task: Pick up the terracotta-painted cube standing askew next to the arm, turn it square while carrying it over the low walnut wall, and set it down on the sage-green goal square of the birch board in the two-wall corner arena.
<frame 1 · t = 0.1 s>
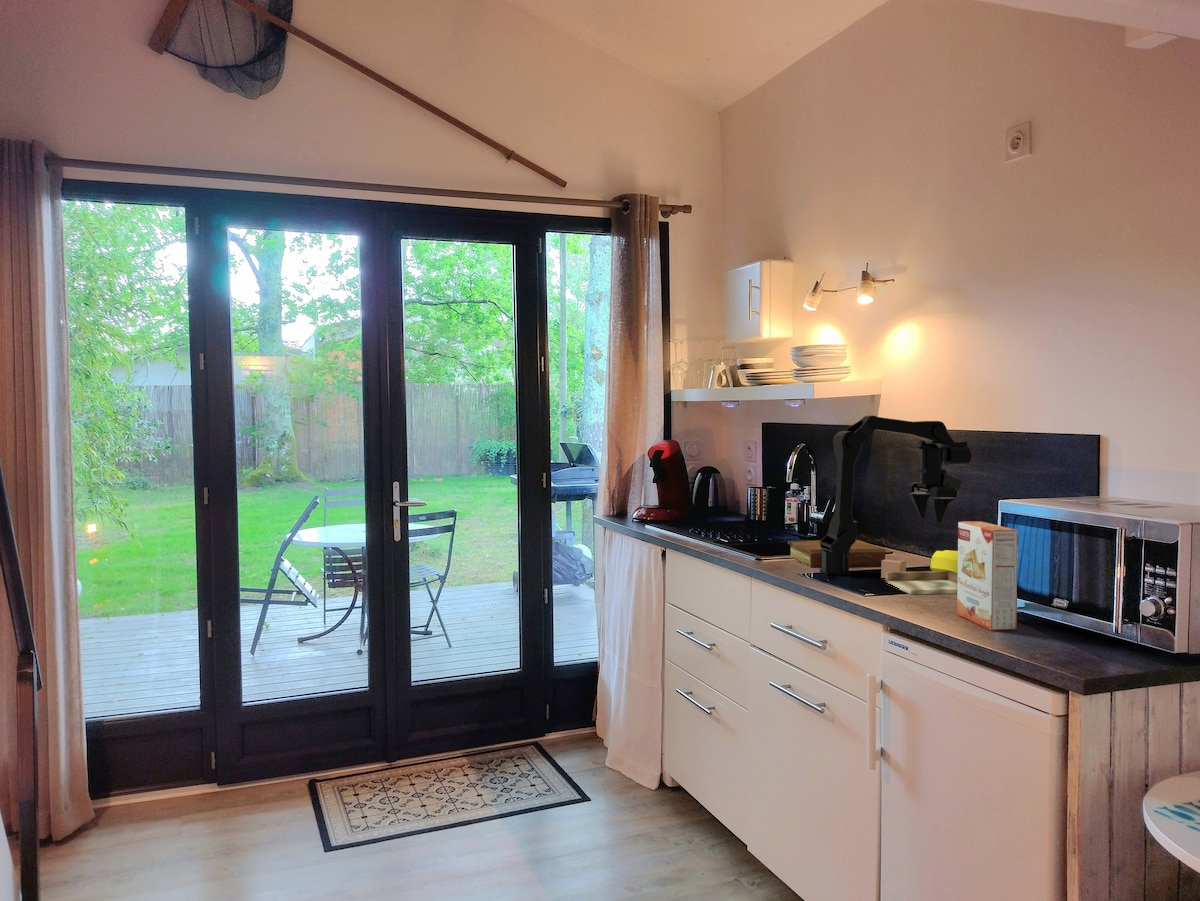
hand: (930, 520, 240), 15 cm above the countertop, tool pointing down, fingers open, 9 cm apart
faceted yellow capsule: (957, 576, 235), on the countertop
diary: (834, 563, 257), on the countertop
cracker box: (985, 623, 180), on the countertop
arena: (931, 587, 217), on the countertop
cube: (893, 578, 230), on the countertop
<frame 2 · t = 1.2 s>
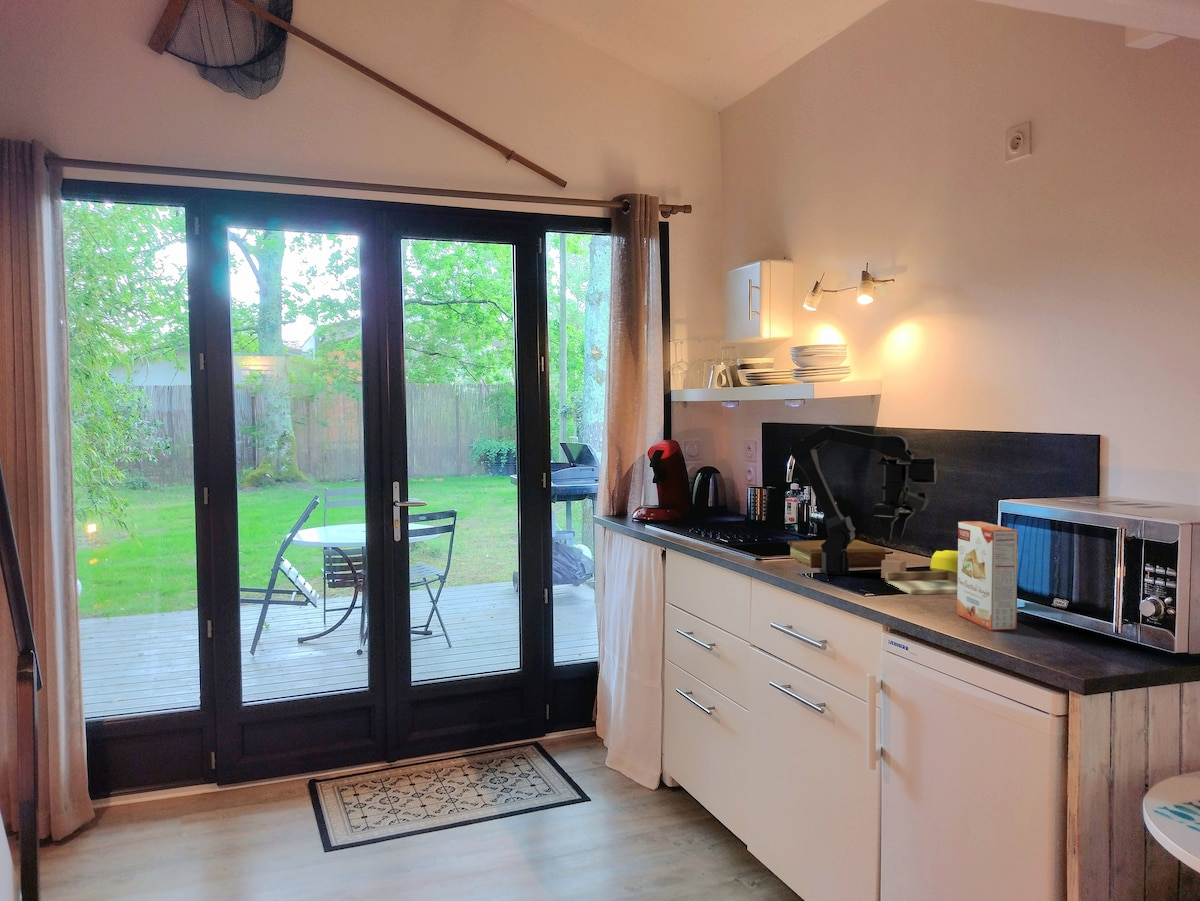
hand: (893, 539, 230), 11 cm above the countertop, tool pointing down, fingers open, 9 cm apart
nothing on the countertop moved.
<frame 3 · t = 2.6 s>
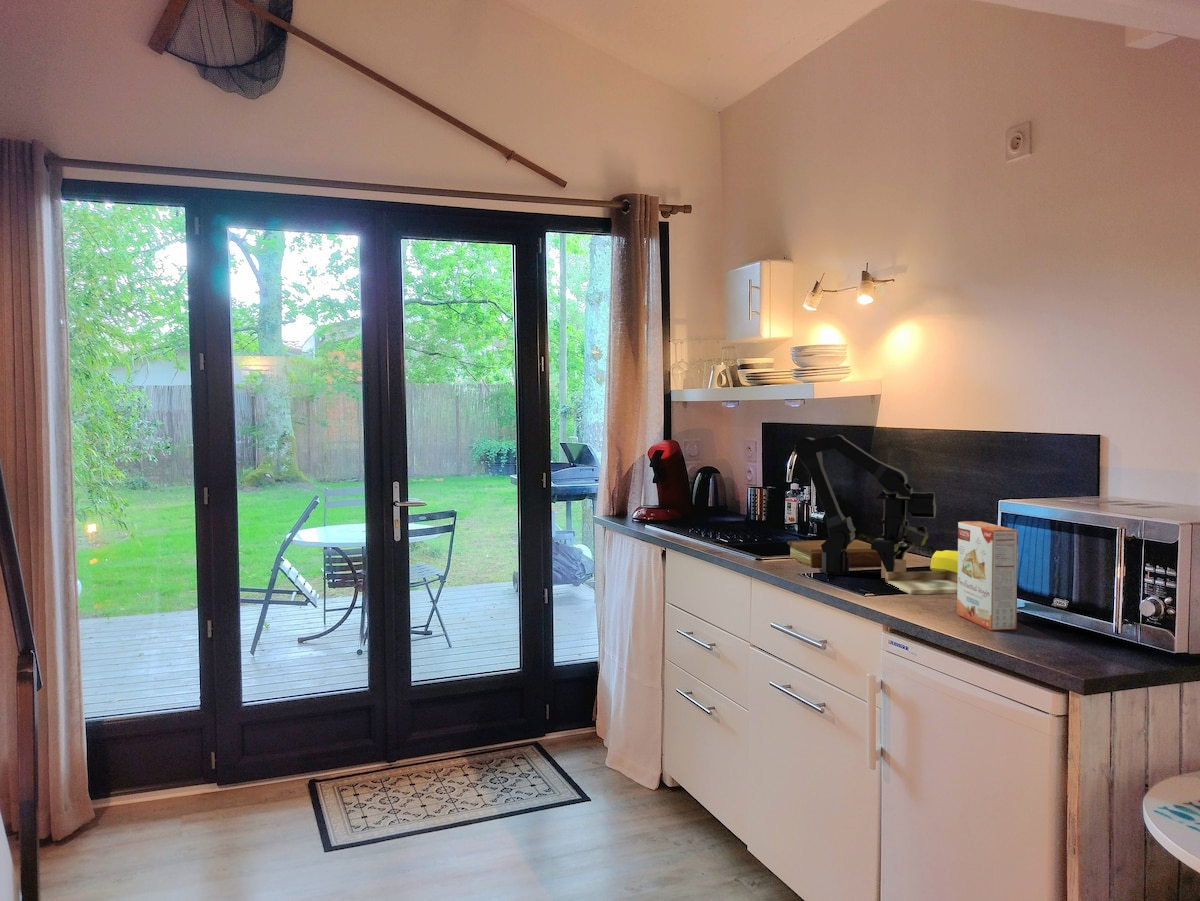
hand: (893, 573, 230), 1 cm above the countertop, tool pointing down, fingers closed on cube, 5 cm apart
cube: (893, 578, 230), on the countertop, touching gripper
everything else where it was.
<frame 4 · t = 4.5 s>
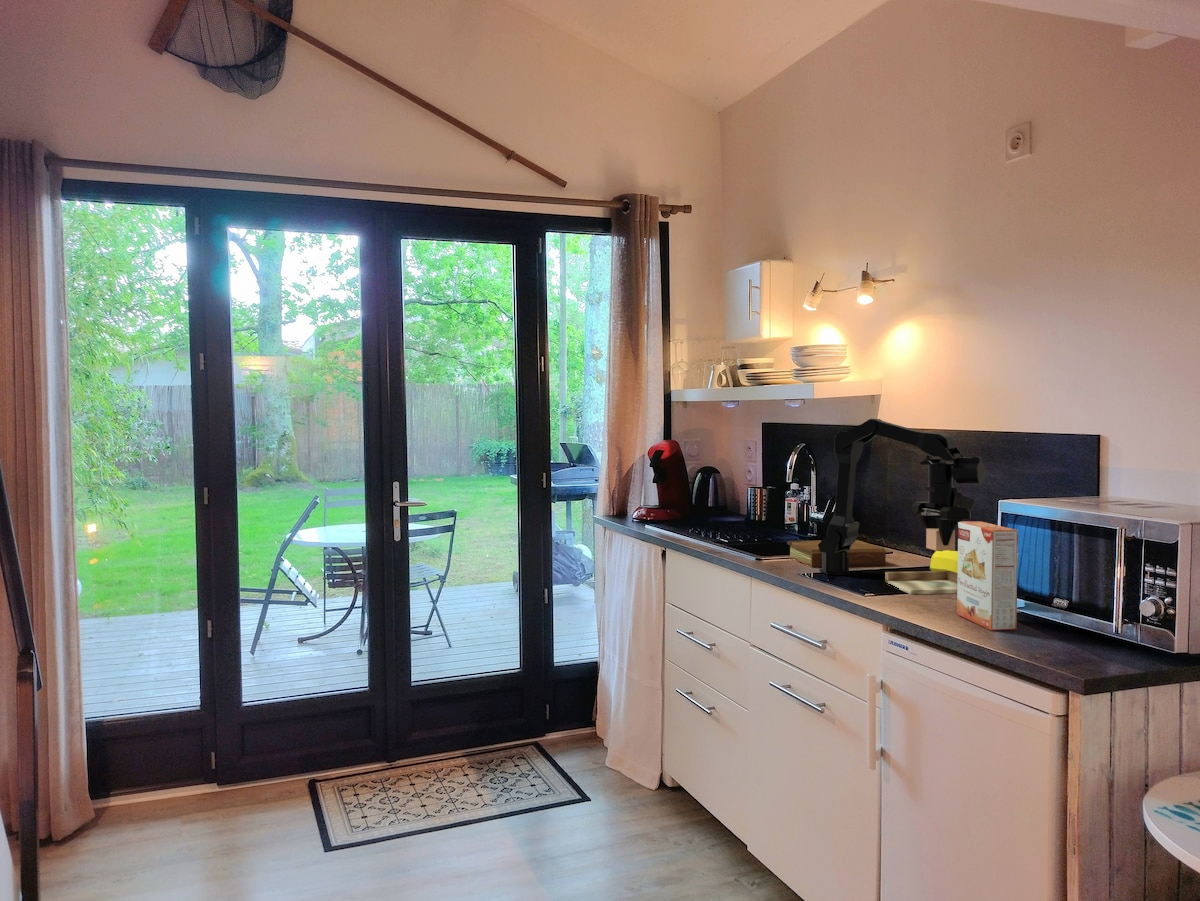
hand: (940, 543, 216), 11 cm above the countertop, tool pointing down, fingers closed on cube, 5 cm apart
cube: (940, 549, 216), point 10 cm above the countertop, touching gripper
everything else where it was.
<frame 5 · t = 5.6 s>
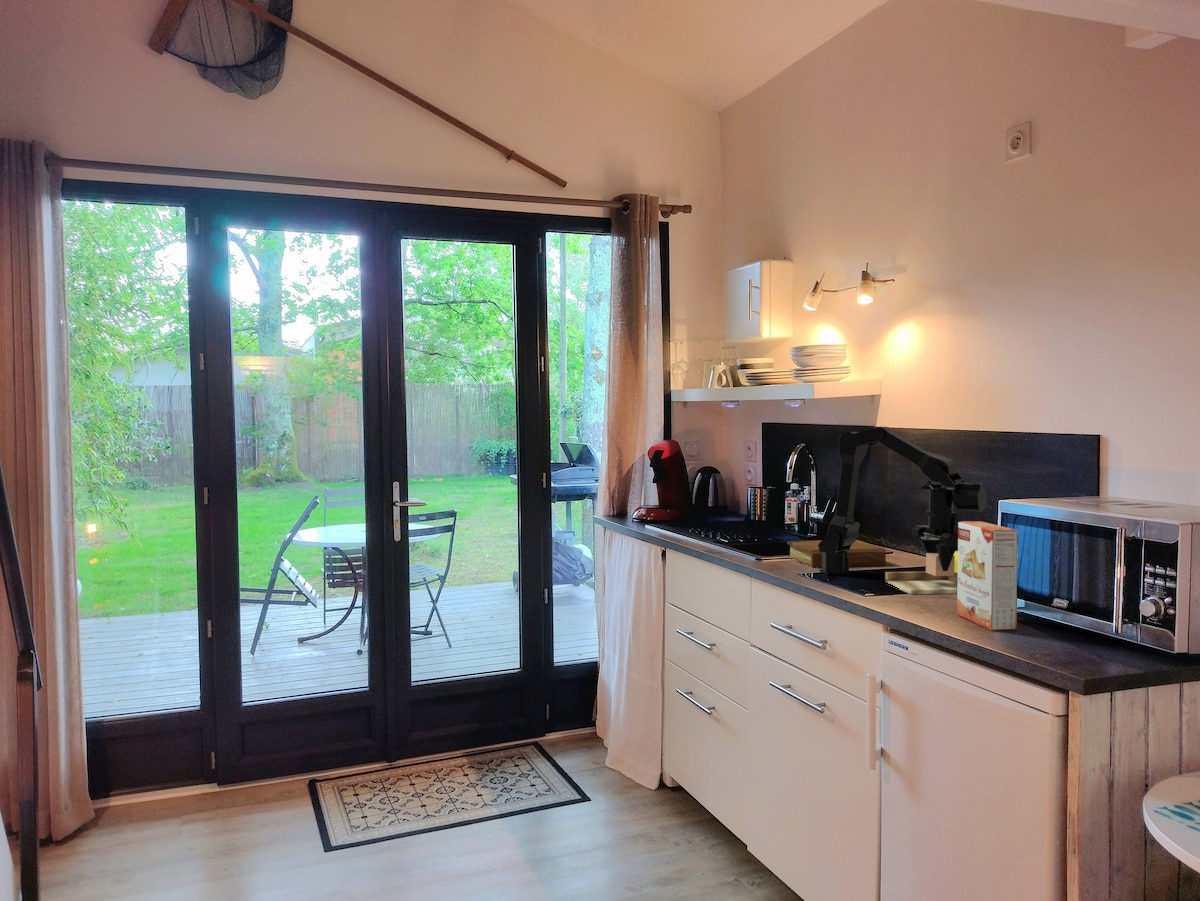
hand: (939, 569, 216), 5 cm above the countertop, tool pointing down, fingers closed on cube, 5 cm apart
cube: (939, 574, 216), point 4 cm above the countertop, touching gripper
everything else where it was.
when the fingers open (4 cm above the countertop, at t = 6.3 s): cube drops 1 cm, resting on arena.
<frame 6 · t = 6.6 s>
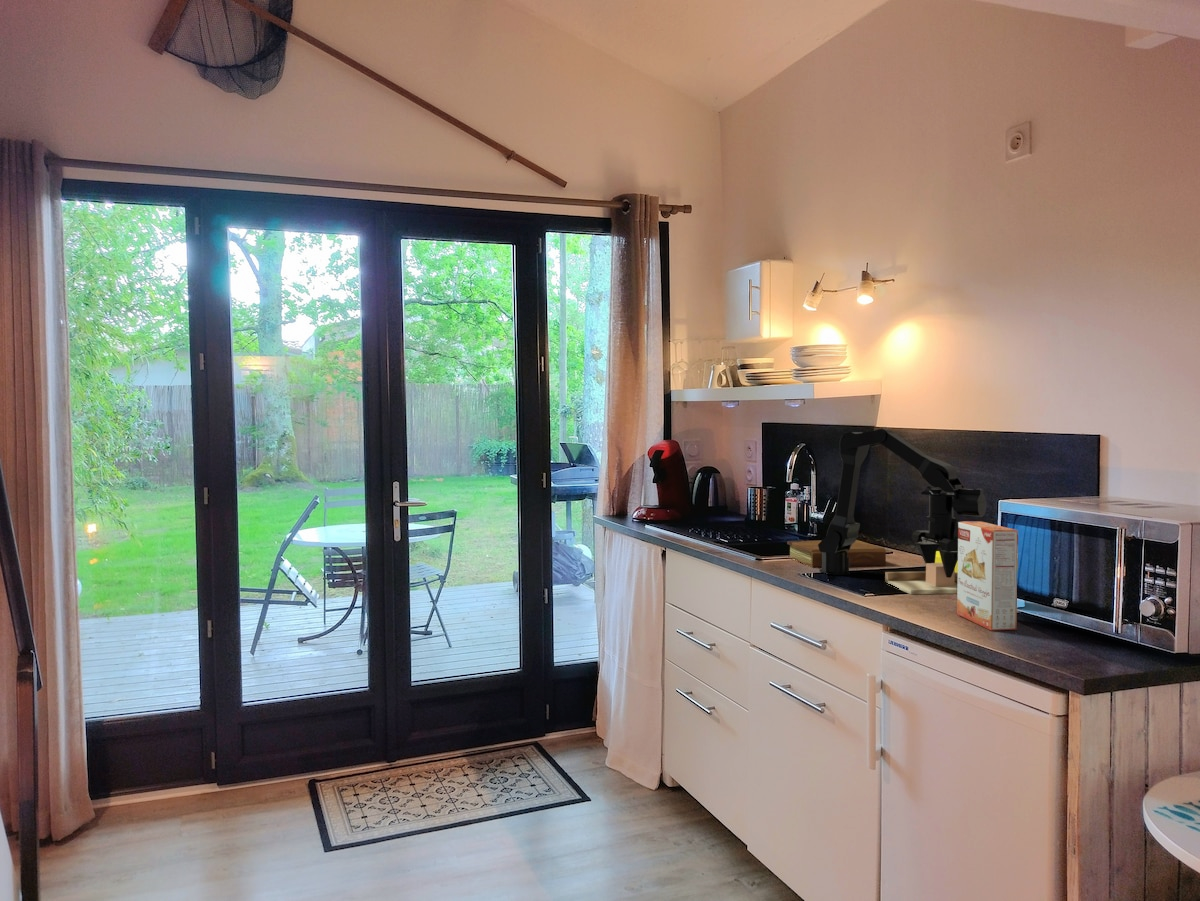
hand: (939, 574, 216), 4 cm above the countertop, tool pointing down, fingers open, 8 cm apart
cube: (939, 584, 217), point 1 cm above the countertop, touching arena
everything else where it was.
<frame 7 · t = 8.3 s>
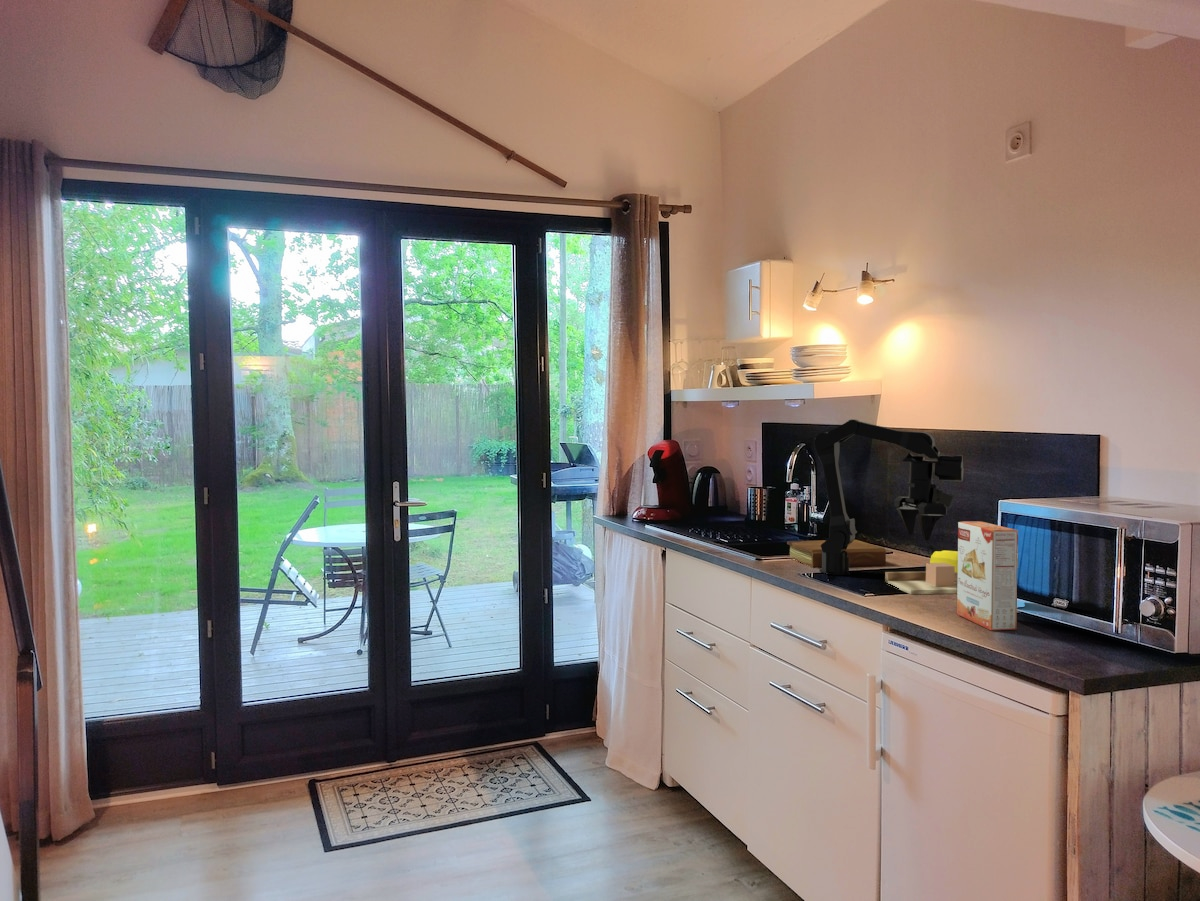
hand: (918, 537, 226), 12 cm above the countertop, tool pointing down, fingers open, 9 cm apart
nothing on the countertop moved.
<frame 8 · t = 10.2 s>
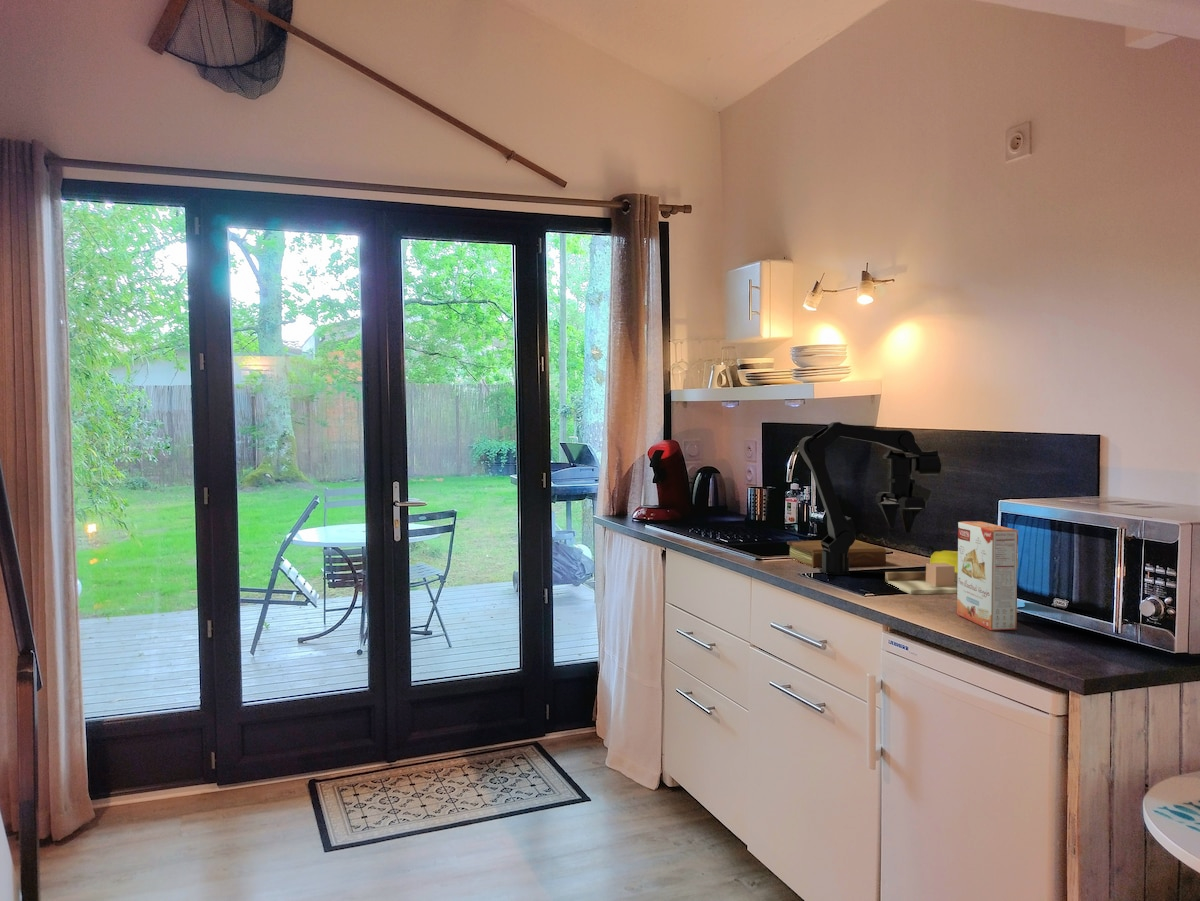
hand: (899, 530, 237), 12 cm above the countertop, tool pointing down, fingers open, 9 cm apart
nothing on the countertop moved.
at the end: cube 0.1 cm from the target spot on the arena, point 1.0 cm above the arena's base; cube tilted 0°; the gripper is holding nothing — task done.
